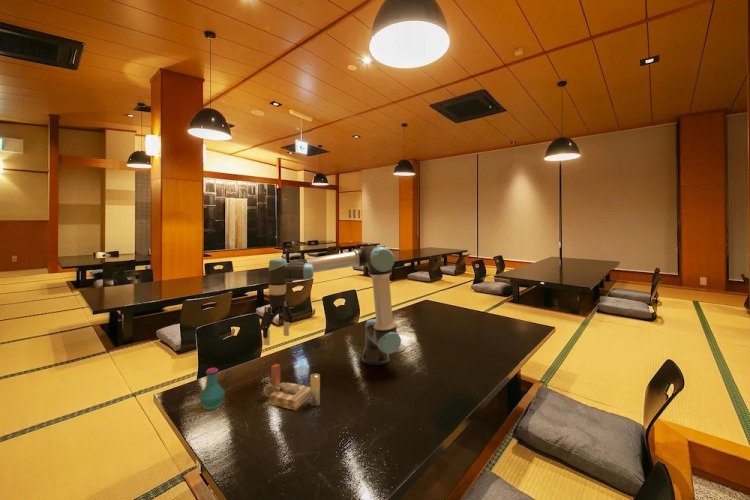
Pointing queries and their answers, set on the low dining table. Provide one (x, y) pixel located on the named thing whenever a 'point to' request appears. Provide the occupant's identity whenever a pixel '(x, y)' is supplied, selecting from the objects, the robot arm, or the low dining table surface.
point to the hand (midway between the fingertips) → (276, 340)
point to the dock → (288, 396)
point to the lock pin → (276, 380)
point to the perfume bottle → (212, 391)
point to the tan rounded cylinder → (314, 389)
